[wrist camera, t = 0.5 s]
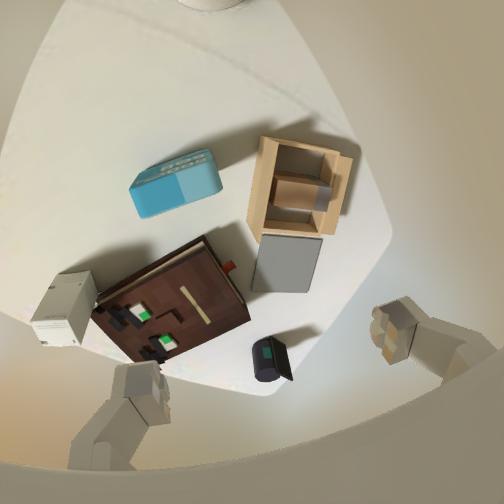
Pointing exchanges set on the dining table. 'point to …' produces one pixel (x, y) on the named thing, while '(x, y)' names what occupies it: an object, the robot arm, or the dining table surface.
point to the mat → (285, 264)
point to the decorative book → (172, 304)
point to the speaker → (271, 360)
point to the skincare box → (65, 309)
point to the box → (299, 191)
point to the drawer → (320, 222)
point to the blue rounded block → (175, 183)
